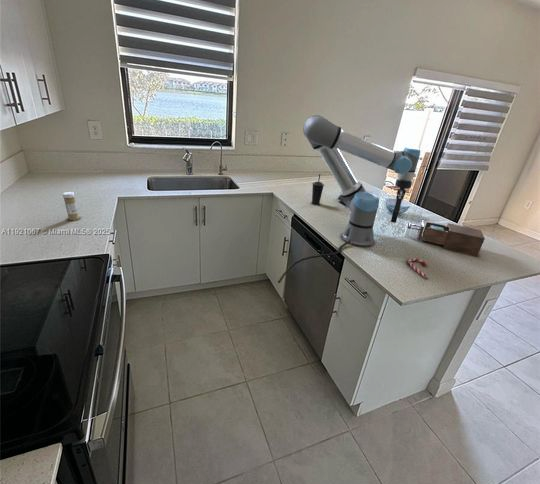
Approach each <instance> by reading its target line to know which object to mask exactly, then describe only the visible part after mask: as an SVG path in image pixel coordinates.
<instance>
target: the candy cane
mask: <svg viewBox="0 0 540 484" xmlns="http://www.w3.org/2000/svg"><path fill="white" fill-rule="evenodd" d="M413 262H417V263H418V262H419V263H421V264H422V265H423V267H426V266H427V263H426V262H425V261H424V260H423V259H421V258H416V257H412V258H409V259H408V260H407V264H408V265H409V267H410V268H411V269H413V271H415V272H416V273H417V274H419V275H420V276H421V277H423V278H424V279H427V278H428V275H427V274H426V273H424V272H423V271H421V270H420V269H419V268H418V267H416V266H415V265H414V264H413Z"/></svg>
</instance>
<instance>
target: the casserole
mask: <svg viewBox="0 0 540 484" xmlns="http://www.w3.org/2000/svg"><path fill="white" fill-rule="evenodd" d="M337 200H338V201H339V202H341V203H343V204H345V202H344V199H343V198H342V196H341V194H340V195H338V197H337Z"/></svg>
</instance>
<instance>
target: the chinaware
mask: <svg viewBox="0 0 540 484" xmlns="http://www.w3.org/2000/svg"><path fill="white" fill-rule="evenodd" d="M396 201H397V199H396V198H386V199H385V200H384V205H385V208H386V209H387V211H388V213H389V214H390V215H391V216H392V215H393V211H392V210H393V209H394V208H395V204H396ZM410 207H411V203H410V202H409V201H406V200H404V199H403V200H402V202H401V205H400V209H401V211H399V213H398V217H399V216H401V215H402V214H405V213H406V212H407V211H408V210H409V209H410Z"/></svg>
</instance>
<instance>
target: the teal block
mask: <svg viewBox="0 0 540 484" xmlns="http://www.w3.org/2000/svg"><path fill="white" fill-rule="evenodd" d="M430 228H435V229H439V230H444V229H443V227H438V226H433V225H430Z"/></svg>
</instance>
